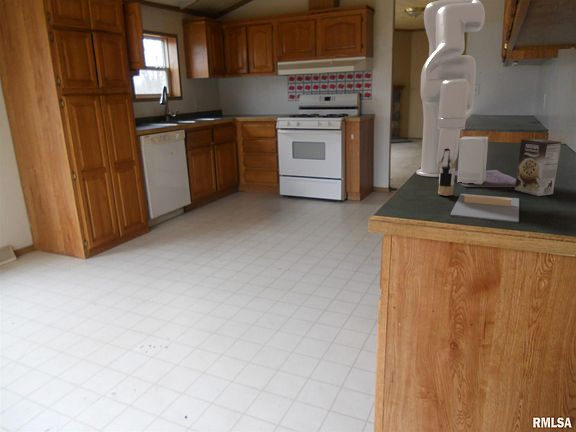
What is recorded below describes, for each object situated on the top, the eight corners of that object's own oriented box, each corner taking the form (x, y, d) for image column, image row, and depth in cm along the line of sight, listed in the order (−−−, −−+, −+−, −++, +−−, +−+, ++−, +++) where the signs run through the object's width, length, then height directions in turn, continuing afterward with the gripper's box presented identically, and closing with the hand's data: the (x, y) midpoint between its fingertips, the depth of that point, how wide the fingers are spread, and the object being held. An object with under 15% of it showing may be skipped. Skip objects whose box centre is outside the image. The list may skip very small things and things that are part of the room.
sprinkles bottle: (441, 191, 137) (445, 149, 133) (455, 193, 134) (459, 150, 130) (435, 194, 134) (438, 151, 130) (449, 196, 131) (453, 152, 127)
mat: (460, 194, 134) (461, 188, 134) (518, 199, 127) (519, 192, 126) (450, 215, 114) (450, 207, 113) (518, 222, 107) (519, 214, 106)
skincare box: (485, 181, 151) (490, 136, 147) (481, 185, 146) (486, 138, 141) (460, 179, 156) (464, 135, 151) (455, 182, 150) (459, 137, 146)
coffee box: (513, 190, 139) (520, 139, 134) (528, 187, 141) (535, 137, 136) (538, 196, 130) (546, 142, 126) (554, 194, 132) (562, 140, 128)
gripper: (442, 120, 136) (438, 177, 142) (433, 126, 122) (428, 189, 127) (468, 120, 133) (462, 179, 138) (461, 127, 119) (455, 191, 124)
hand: (446, 183), depth 133 cm, fingers closed on sprinkles bottle, 4 cm apart
